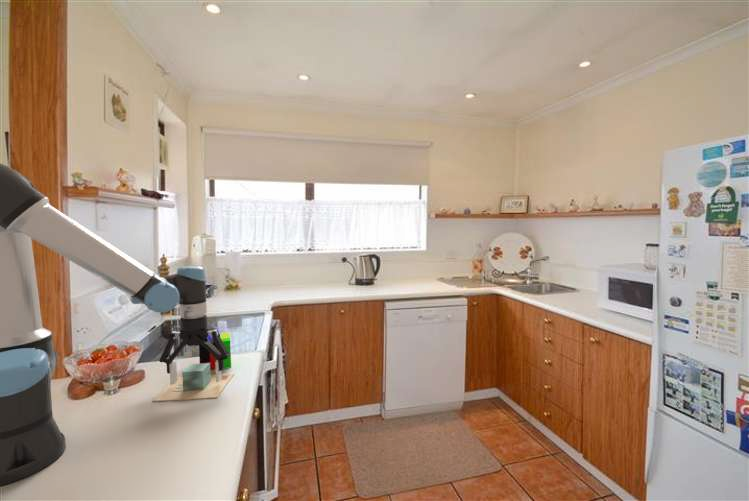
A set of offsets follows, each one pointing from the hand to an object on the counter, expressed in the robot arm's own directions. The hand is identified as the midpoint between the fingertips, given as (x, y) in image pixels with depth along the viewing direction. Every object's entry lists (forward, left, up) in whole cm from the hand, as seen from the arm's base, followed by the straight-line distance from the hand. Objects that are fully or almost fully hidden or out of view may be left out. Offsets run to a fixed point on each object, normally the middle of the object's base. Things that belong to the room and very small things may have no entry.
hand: (196, 381), depth 107 cm
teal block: (0, 0, -1) cm, 1 cm away
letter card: (0, 0, -2) cm, 2 cm away
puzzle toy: (0, +18, -2) cm, 18 cm away
